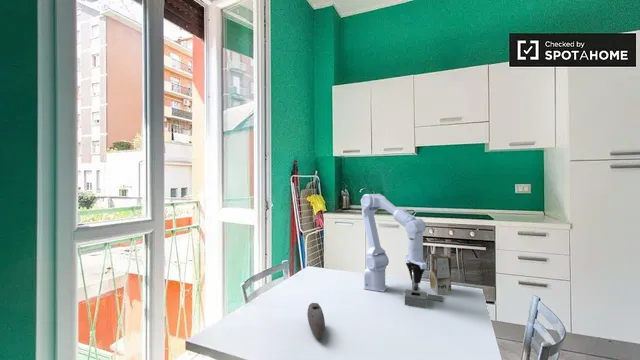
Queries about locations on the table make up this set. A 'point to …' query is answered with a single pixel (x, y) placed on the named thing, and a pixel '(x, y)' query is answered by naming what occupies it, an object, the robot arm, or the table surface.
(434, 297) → the mat
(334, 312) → the table surface
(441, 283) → the coffee box
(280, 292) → the table surface
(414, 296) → the block
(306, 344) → the table surface
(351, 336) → the table surface
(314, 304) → the perforated stone tool
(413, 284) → the key peg
